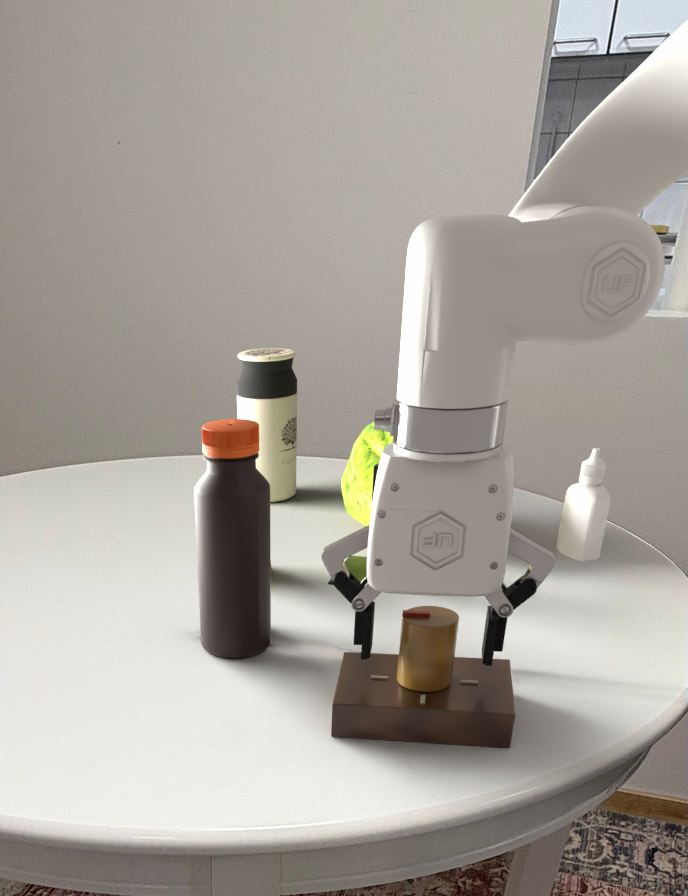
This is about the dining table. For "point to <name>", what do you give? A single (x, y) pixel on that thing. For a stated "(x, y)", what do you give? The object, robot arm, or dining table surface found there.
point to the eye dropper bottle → (585, 512)
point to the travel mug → (271, 414)
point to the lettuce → (363, 472)
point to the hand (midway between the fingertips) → (425, 655)
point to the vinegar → (233, 542)
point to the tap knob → (427, 648)
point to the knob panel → (424, 703)
